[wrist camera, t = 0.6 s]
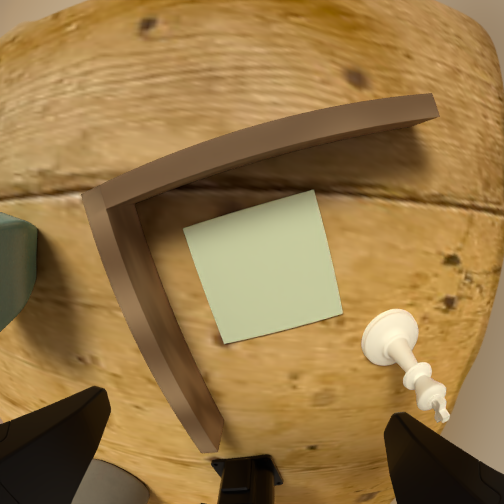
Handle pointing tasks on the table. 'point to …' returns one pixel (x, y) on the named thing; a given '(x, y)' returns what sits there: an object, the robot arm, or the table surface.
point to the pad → (266, 267)
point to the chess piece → (404, 357)
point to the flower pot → (16, 265)
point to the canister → (109, 486)
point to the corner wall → (187, 171)
